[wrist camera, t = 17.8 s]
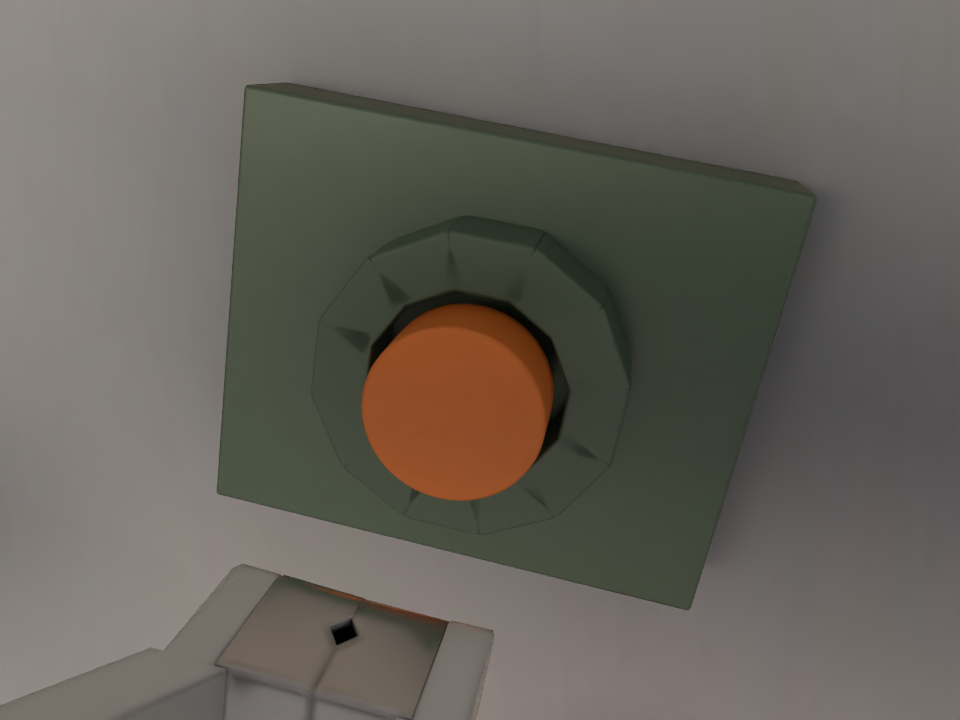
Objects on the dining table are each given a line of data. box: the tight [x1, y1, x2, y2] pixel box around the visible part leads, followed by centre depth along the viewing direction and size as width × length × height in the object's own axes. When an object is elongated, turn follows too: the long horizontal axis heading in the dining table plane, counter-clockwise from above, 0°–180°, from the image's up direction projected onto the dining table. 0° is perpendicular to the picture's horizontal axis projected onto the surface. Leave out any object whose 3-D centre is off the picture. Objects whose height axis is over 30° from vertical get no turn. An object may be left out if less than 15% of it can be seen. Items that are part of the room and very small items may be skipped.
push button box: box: [217, 83, 817, 610], centre depth 20 cm, size 12×10×4 cm
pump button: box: [361, 303, 554, 501], centre depth 17 cm, size 4×4×2 cm
